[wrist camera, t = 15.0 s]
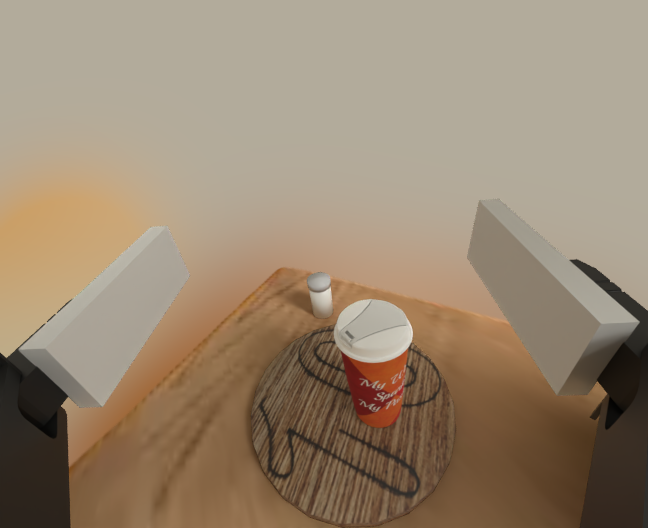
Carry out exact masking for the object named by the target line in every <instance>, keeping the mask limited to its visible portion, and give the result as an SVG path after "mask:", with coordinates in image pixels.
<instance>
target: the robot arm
mask: <svg viewBox="0 0 648 528" xmlns="http://www.w3.org/2000/svg"><path fill="white" fill-rule="evenodd" d="M467 258H468V260H469V261H470V263H471V264H472V266H473V268H474V269H475V271H476V272H477V274H478V275H479V277H480V278H481V280H482V281H483V283H484V284H485V286H486V288H487V289H488V291H489V292H490V294H491V295H492V297H493V298H494V300H495V301H496V303H497V304H498V306H499V308H500V309H501V311H502V312H503V314H504V315H505V317H506V318H507V320H508V321H509V323H510V324H511V326H512V328H513V329H514V331H515V332H516V334H517V335H518V337H519V338H520V340H521V341H522V343H523V344H524V346H525V348H526V349H527V351H528V352H529V354H530V355H531V357H532V358H533V360H534V361H535V363H536V364H537V366H538V368H539V369H540V371H541V372H542V374H543V375H544V377H545V378H546V380H547V381H548V383H549V384H550V386H551V388H552V389H553V391H554V392H555V394H556V395H557V396H560V395H588V393H589V392H590V390H591V389H592V388H593V386H594V385H595V383H596V382H597V381H598V382H599V383H600V385H601V386H602V387H603V388H604V390H605V391H606V392H607V393H608V394H607V395H606V396H605V398H604V399H603V400H602V402H601V403H600V404H599V405H598V407H597V408H596V409H595V410H594V412H593V413H592V415H591V416H590V418H592V419H594V420H596V419H597V417H598V416H599V415H600V417H599V422H598V428H597V433H596V439H595V445H594V450H593V456H592V461H591V467H590V473H589V478H588V484H587V489H586V495H585V501H584V506H583V512H582V517H581V523H580V528H648V311H647V310H646V309H645V308H643V307H642V306H641V305H640V304H639V303H637V302H636V301H635V300H634V299H632V298H631V297H630V296H629V295H628V294H626V293H625V292H622V291H621V289H620V288H619V287H618V286H617V285H615V284H614V283H612V282H610V280H609V279H608V278H607V277H606V276H604V275H603V274H602V273H600V272H599V271H598V270H597V269H596V268H594V267H591V266H590V265H587V264H585V263H583V262H581V261H579V260H577V259H576V260H568V259H567V258H566V257H565V256H564V255H562V254H561V253H560V252H559V251H558V250H557V249H556V248H555V247H553V246H552V245H551V244H550V243H549V242H548V241H547V240H545V239H544V238H543V237H542V236H541V235H540V234H539V233H537V232H536V231H535V230H534V229H533V228H532V227H531V226H529V225H528V224H527V223H526V222H525V221H524V220H523V219H521V218H520V217H519V216H518V215H517V214H516V213H514V212H513V211H512V210H511V209H510V208H509V207H508V206H507V205H505V204H504V203H503V202H502V201H501V200H500V199H491V200H479V203H478V207H477V212H476V217H475V222H474V227H473V232H472V237H471V241H470V246H469V251H468V256H467ZM189 277H190V274H189V272H188V270H187V268H186V266H185V263H184V261H183V259H182V257H181V255H180V252H179V250H178V248H177V246H176V244H175V242H174V239H173V237H172V235H171V233H170V231H169V228H168V226H159V227H151V228H149V229H148V230H147V231H146V232H145V233H144V234H143V235H142V236H141V237H140V238H139V239H137V240H136V241H135V242H134V243H133V244H132V245H131V246H130V247H129V248H128V249H127V250H126V251H125V252H123V254H121V255H120V256H119V257H118V258H117V259H116V260H115V261H114V262H113V263H111V265H109V266H108V267H107V268H106V269H105V270H104V271H103V272H102V273H101V274H100V275H98V276H97V278H95V279H94V280H93V281H92V282H91V283H90V284H89V285H88V286H86V287H85V288H84V289H83V290H82V291H81V292H80V293H79V294H78V295H77V296H76V297H75V298H73V299H72V300H70V301H69V302H67V303H66V304H65V305H64V306H63V307H62V308H61V309H60V310H59V311H58V312H57V314H54V315H53V316H52V317H51V318H50V319H49V320H48V321H47V323H46V324H43V325H42V326H41V327H40V328H39V329H38V330H37V331H36V332H35V333H34V334H33V335H31V336H30V337H29V338H28V339H27V340H26V341H25V342H24V343H23V344H22V345H21V346H20V347H18V348H17V349H16V350H15V351H14V352H13V353H12V354H11V355H10V356H8V357H7V358H6V357H4V356H3V355H2V354H1V353H0V528H70V498H69V466H68V434H67V414H66V411H65V409H63V408H62V407H61V405H62V404H63V402H64V401H65V400H66V399H67V397H69V398H70V399H71V400H72V401H73V402H74V403H75V404H77V405H78V406H79V407H80V408H82V407H103V406H104V404H105V403H106V401H107V400H108V398H109V397H110V395H111V394H112V392H113V391H114V389H115V388H116V386H117V385H118V383H119V382H120V380H121V379H122V377H123V376H124V374H125V373H126V371H127V369H128V368H129V367H130V365H131V364H132V362H133V361H134V359H135V358H136V356H137V355H138V353H139V352H140V350H141V349H142V347H143V346H144V344H145V343H146V341H147V340H148V338H149V337H150V335H151V334H152V332H153V331H154V329H155V328H156V326H157V325H158V323H159V322H160V320H161V319H162V317H163V316H164V314H165V313H166V311H167V310H168V308H169V307H170V305H171V304H172V302H173V301H174V299H175V298H176V296H177V295H178V293H179V292H180V290H181V289H182V287H183V286H184V284H185V283H186V281H187V280H188V278H189Z"/></svg>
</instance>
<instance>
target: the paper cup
mask: <svg viewBox="0 0 648 528" xmlns="http://www.w3.org/2000/svg"><path fill="white" fill-rule="evenodd" d="M412 337H413V331H412V327H411V324H410V323H409V321H408V319H407V317H406V315H405V313H404V312H403V311H402V310H401V309H399V308H398V307H396V306H395V305H393V304H391V303H389V302H386V301H382V300H374V299H368V300H362V301H358V302H355V303H353V304H351V305H349V306H348V307H346V308H345V309H344V310H343V311H342V312H341V314H340V316H339V317H338V320H337V323H336V325H335V328H334V339H335V342H336V344H337V346H338V347H339V349H340V351H341V355H342V359H343V364H344V368H345V372H346V377H347V381H348V385H349V388H350V392H351V396H352V400H353V404H354V407H355V410H356V413H357V415H358V417H359V418H360V419H361V420H362V421H363V422H364V423H365V424H367V425H369V426H371V427H375V428H384V427H388V426H390V425H392V424H393V423H394V422H395V421H396V420H397V419H398V417H399V415H400V412H401V407H402V399H403V391H404V382H405V372H406V362H407V353H408V347H409V345H410V344H411V341H412Z"/></svg>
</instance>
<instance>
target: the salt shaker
mask: <svg viewBox="0 0 648 528" xmlns="http://www.w3.org/2000/svg"><path fill="white" fill-rule="evenodd" d="M307 284H308V288H309V292H310V298H311V303H312V309H313V314H314V316H315V317H317V318H320V319H325V318H328V317H330V316H331V315H332V314H333V304H332V295H331V287H330V286H331V281H330V276H329V275H328V274H326V273H322V272H318V273H314V274H312V275H310V276H309V277H308V279H307Z"/></svg>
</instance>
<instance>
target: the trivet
mask: <svg viewBox="0 0 648 528" xmlns="http://www.w3.org/2000/svg"><path fill="white" fill-rule="evenodd" d="M334 328H335V325H332V326H329V327H325V328H321V329H318V330H314V331H312V332H310V333H308V334H306V335H304V336H302V337H300V338H298V339H297V340H295V341H294V342H292V343H291V344H290V345H289V346H288V347H286V348H285V349H284V350H283V351H281V352H280V353H279V354H278V355H277V357H276V358H275V359H274V360H273V362H272V363H271V364H270V365H269V367H268V368H267V369H266V371H265V373H264V375H263V377H262V379H261V381H260V383H259V385H258V387H257V390H256V392H255V397H254V402H253V407H252V413H251V424H252V439H253V444H254V447H255V450H256V453H257V455H258V458H259V461H260V464H261V466H262V469H263V471H264V473H265V475H266V476H267V477H268V479H269V480H270V481H271V483H272V484H273V485H274V487H275V488H276V489H277V491H278V492H279V493H280V495H281V496H282V497H283V499H285V500H286V501H288V502H289V503H290V504H292V505H293V506H295V507H296V508H297V509H299V510H300V511H302V512H303V513H304V514H306V515H307V516H309V517H310V518H313V519H316V520H319V521H323V522H326V523H329V524H333V525H336V526H339V527H342V528H346V527H371V526H379V525H382V524H384V523H387V522H389V521H392V520H394V519H396V518H399V517H401V516H404V515H406V514H409V513H410V512H411V511H412V510H413V509H414V508H416V507H417V506H418V505H419V504H420V503H421V502H422V501H423V500H425V499H426V498H427V497H428V496H429V495H430V494H431V493H432V492H433V491H434V490H435V488H436V486H437V484H438V483H439V481H440V479H441V477H442V475H443V474H444V472H445V470H446V468H447V467H448V465H449V462H450V458H451V453H452V448H453V443H454V438H455V433H456V424H455V414H454V404H453V400H452V398H451V395H450V393H449V390H448V387H447V385H446V382H445V380H444V378H443V376H442V375H441V373H440V372H439V371H438V369H437V368H436V366H435V365H434V363H433V362H432V361H431V359H430V358H429V357H428V356H427V355H425V354H424V353H423V352H422V351H421V350H420V349H419V348H418V347H417V346H415V345H414V344H413V343H411V344H410V345H409V347H408V353H407V362H406V372H405V382H404V391H403V399H402V407H401V412H400V415H399V417H398V419H397V420H396V421H395V422H394V423H393V424H392V425H390V426H388V427H384V428H375V427H371V426H369V425H367V424H365V423H364V422H363V421H362V420H361V419H360V418H359V417H358V415H357V413H356V410H355V407H354V404H353V400H352V396H351V392H350V388H349V385H348V381H347V377H346V372H345V368H344V364H343V359H342V355H341V351H340V349H339V347H338V346H337V344H336V342H335V339H334Z"/></svg>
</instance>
